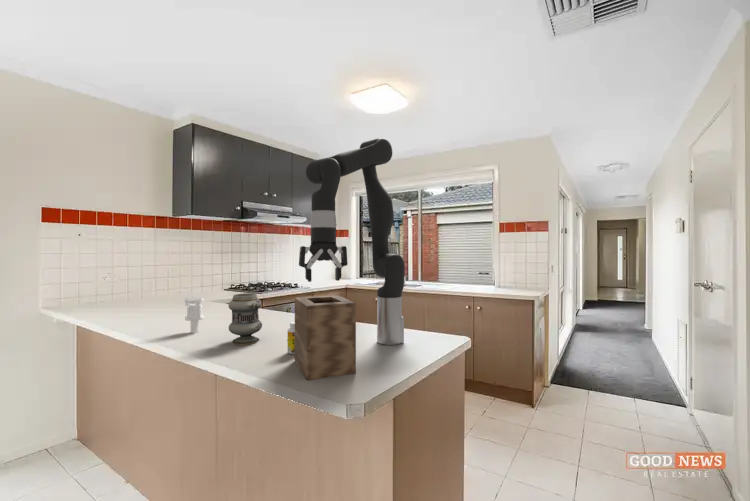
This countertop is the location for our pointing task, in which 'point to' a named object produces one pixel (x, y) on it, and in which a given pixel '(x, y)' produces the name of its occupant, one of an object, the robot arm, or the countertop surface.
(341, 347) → the box
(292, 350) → the supplement bottle
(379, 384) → the countertop surface
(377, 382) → the countertop surface
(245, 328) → the apothecary jar
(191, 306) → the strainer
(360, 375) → the countertop surface
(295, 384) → the countertop surface
